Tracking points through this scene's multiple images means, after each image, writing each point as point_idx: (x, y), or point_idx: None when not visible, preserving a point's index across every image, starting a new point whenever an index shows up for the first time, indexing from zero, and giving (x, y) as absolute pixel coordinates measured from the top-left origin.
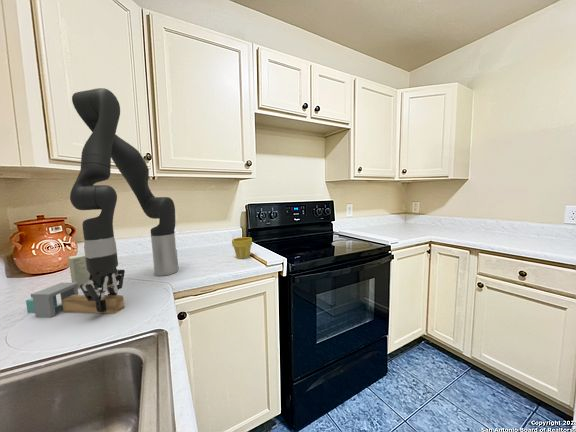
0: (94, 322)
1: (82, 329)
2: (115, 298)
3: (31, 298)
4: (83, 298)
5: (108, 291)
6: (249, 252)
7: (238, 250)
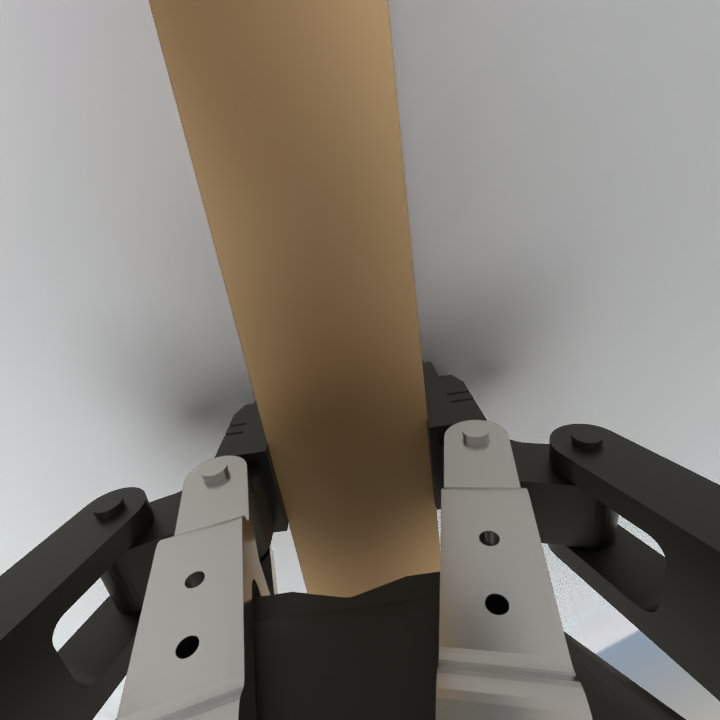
0: (158, 473)
1: (56, 484)
2: (353, 582)
3: None
4: (244, 136)
5: (445, 454)
6: None
7: None
